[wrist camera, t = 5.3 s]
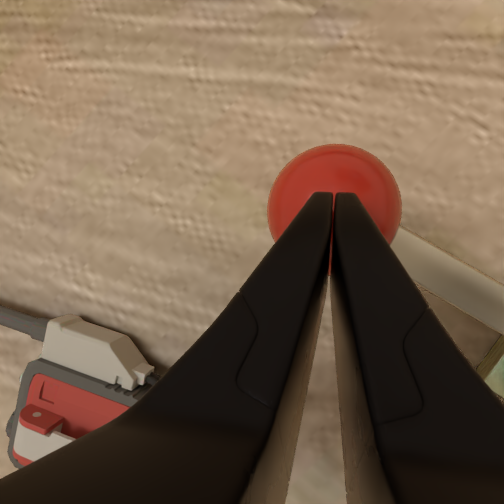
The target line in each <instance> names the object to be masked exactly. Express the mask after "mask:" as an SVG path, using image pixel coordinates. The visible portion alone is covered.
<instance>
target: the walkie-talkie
mask: <svg viewBox="0 0 504 504" xmlns="http://www.w3.org/2000/svg"><path fill="white" fill-rule="evenodd" d="M0 324H1V325H3V326H6V327H9V328H12V329H14V330H17V331H20V332H23V333H25V334H28V335H30V336H31V338H33V339H36V340H39V341H42V342H44V344H43V349H42V353H41V354H40V356H39V357H38V359H36V360H34V361H32V362H29V363H28V365H27V367H26V369H25V371H24V372H23V373H22V375H21V377H20V380H19V381H20V383H21V384H20V389H19V394H18V399H17V405H16V410H15V411H14V412H13V414H12V415H11V417H10V419H9V421H8V423H7V427H6V432H7V436H8V437H9V438H10V441H9V446H8V451H7V452H8V455H9V458H10V460H11V462H12V463H13V464H14V466H15V467H17V468H19V469H21V468H23V467H24V466H26V465H28V464H30V463H32V462H34V461H36V460H38V459H40V458H42V457H44V456H45V455H47V454H49V453H51V452H53V451H55V450H57V449H59V448H61V447H63V446H65V445H67V444H68V443H70V442H72V441H74V440H76V439H78V438H80V437H82V436H84V435H86V434H88V433H89V432H91V431H93V430H95V429H97V428H99V427H101V426H103V425H105V424H106V423H108V422H110V421H112V420H113V419H115V418H116V417H118V416H119V415H121V414H122V413H123V412H125V411H126V410H127V409H129V408H130V407H131V406H132V405H134V404H135V403H136V402H137V401H138V400H139V399H140V398H141V397H142V396H143V395H144V394H145V393H146V392H147V391H148V390H149V389H150V388H151V387H152V386H153V385H154V384H155V383H156V382H157V381H158V380H159V379H160V378H161V377H160V376H158V375H157V374H155V373H154V368H155V367H153V366H150V365H149V364H148V363H147V361H146V360H145V358H144V357H143V356H142V354H141V353H140V351H139V350H138V349H137V347H136V346H135V344H134V343H133V342H132V340H131V339H130V338H129V337H128V336H127V335H124V334H121V333H118V332H115V331H112V330H109V329H106V328H103V327H100V326H97V325H95V324H92V323H89V322H86V321H83V319H82V318H81V317H79V316H76V315H73V314H67V315H64V316H61V317H58V318H54V319H51V320H50V319H48V318H44V317H41V318H37V317H34V316H31V315H28V314H25V313H22V312H19V311H17V310H14V309H11V308H8V307H5V306H2V305H0Z"/></svg>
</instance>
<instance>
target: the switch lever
mask: <svg viewBox="0 0 504 504" xmlns="http://www.w3.org/2000/svg"><path fill="white" fill-rule="evenodd" d="M314 192H332V193H333V209H332V228H331V243H330V258H329V273H328V276H330V274H331V256H332V238H333V221H334V207H335V195H336V193H338V192H353V193H355V194H356V195H357V196H358V198H359V199H360V201H361V202H362V204H363V205H364V207H365V208H366V210H367V211H368V213H369V215H370V216H371V218H372V219H373V221H374V222H375V224H376V225H377V227H378V228H379V230H380V231H381V233H382V234H383V236H384V237H385V239H386V240H387V242H388V243H389V245H390V246H391V248H392V250H393V251H394V253H395V254H396V256H397V257H398V259H399V260H400V262H401V263H402V265H403V266H404V268H405V269H406V271H407V272H408V274H409V275H410V277H411V278H412V280H413V282H414V283H415V284H417V285H419V286H420V287H422V288H424V289H425V290H427V291H429V292H430V293H432V294H434V295H436V296H437V297H439V298H441V299H442V300H444V301H446V302H447V303H449V304H451V305H453V306H454V307H456V308H458V309H459V310H461V311H463V312H464V313H466V314H468V315H470V316H471V317H473V318H475V319H476V320H478V321H480V322H481V323H483V324H485V325H487V326H488V327H490V328H492V329H493V330H495V331H497V332H498V333H500V334H502V335H504V285H503V284H501V283H500V282H498V281H496V280H494V279H493V278H491V277H489V276H487V275H486V274H484V273H482V272H481V271H479V270H477V269H475V268H474V267H472V266H470V265H468V264H467V263H465V262H463V261H461V260H460V259H458V258H456V257H454V256H453V255H451V254H449V253H448V252H446V251H444V250H442V249H441V248H439V247H437V246H435V245H434V244H432V243H430V242H428V241H427V240H425V239H423V238H422V237H420V236H418V235H416V234H415V233H413V232H411V231H409V230H408V229H406V228H404V227H402V226H401V225H400V222H401V215H402V201H401V195H400V191H399V188H398V185H397V183H396V181H395V178H394V177H393V175H392V173H391V172H390V170H389V169H388V168H387V167H386V166H385V165H384V163H383V162H381V161H380V160H379V159H378V158H377V157H375V156H374V155H372V154H371V153H369V152H367V151H365V150H363V149H361V148H358V147H355V146H350V145H345V144H328V145H322V146H317V147H314V148H311V149H309V150H307V151H305V152H303V153H301V154H299V155H298V156H296V157H295V158H293V159H292V160H291V161H290V162H289V163H288V164H287V165H286V166H285V167H284V168H283V169H282V170H281V172H280V173H279V175H278V176H277V178H276V180H275V182H274V184H273V186H272V188H271V191H270V194H269V199H268V206H267V218H268V224H269V229H270V232H271V235H272V237H273V239H274V241H275V242H276V241H277V240H278V239H279V237H280V236H281V235H282V233H283V232H284V231H285V229H286V228H287V227H288V225H289V224H290V223H291V221H292V220H293V219H294V218H295V216H296V215H297V214H298V212H299V211H300V210H301V208H302V207H303V206H304V204H305V203H306V202H307V200H308V199H309V198H310V197H311V195H312V194H313V193H314Z"/></svg>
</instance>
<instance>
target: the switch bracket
mask: <svg viewBox="0 0 504 504" xmlns="http://www.w3.org/2000/svg"><path fill="white" fill-rule="evenodd" d="M476 371H477V372H478V374H479V375H480V376H481V377H482V379H483V380H484V381H485V382H486V383H487V385H488V386H489V387H490V388H491V389H492V391H493V392H494V393H495V394H497V395H498V396H500V397H502V398H503V399H504V335H501V337H500V338H499V339H498V341H497V342H496V343H495V345H494V346H493V347H492V349H491V350H490V352H489V353H488V354H487V356H486V357H485V358H484V360H483V361H482V362H481V364H480V365H479V367H478V368H477V369H476Z"/></svg>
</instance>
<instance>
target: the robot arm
mask: <svg viewBox="0 0 504 504" xmlns="http://www.w3.org/2000/svg"><path fill="white" fill-rule="evenodd" d="M332 209H333V193H332V192H314V193H313V194H312V195H311V197H310V198H309V199H308V200H307V202H306V203H305V204H304V206H303V207H302V208H301V210H300V211H299V212H298V214H297V215H296V216H295V218H294V219H293V220H292V221H291V223H290V224H289V225H288V227H287V228H286V229H285V231H284V232H283V233H282V235H281V236H280V237H279V239H278V240H277V241H276V242H275V244H274V245H273V246H272V248H271V249H270V250H269V252H268V253H267V254H266V256H265V257H264V258H263V260H262V261H261V262H260V263H259V265H258V266H257V267H256V269H255V270H254V271H253V273H252V274H251V275H250V277H249V278H248V279H247V281H246V282H245V283H244V284H243V286H242V287H241V288H240V290H239V292H238V293H236V295H235V296H234V297H233V299H232V300H231V301H230V303H229V304H228V305H227V307H226V308H225V309H224V310H223V311H222V313H221V314H220V315H219V316H218V318H217V319H216V320H215V321H214V322H213V324H212V325H211V326H210V327H209V328H208V329H207V330H206V331H205V332H204V333H203V335H202V336H201V337H200V338H199V339H198V340H197V341H196V342H195V343H194V344H193V345H192V346H191V347H190V348H189V349H188V350H187V351H186V352H185V354H184V355H183V356H182V357H181V358H180V359H179V360H178V361H177V362H176V363H175V364H174V365H173V366H172V367H171V368H170V369H169V370H168V371H167V372H166V373H165V374H164V375H163V376H162V377H161V378H160V379H159V380H158V381H157V382H156V383H155V384H154V385H153V386H152V387H151V388H150V389H149V390H148V391H147V392H146V393H145V394H144V395H143V396H142V397H141V398H140V399H139V400H138V401H137V402H136V403H135V404H134V405H132V406H131V407H130V408H129V409H127V410H126V411H125V412H123V413H122V414H121V415H119V416H118V417H116V418H115V419H113V420H112V421H110V422H108V423H106V424H105V425H103V426H101V427H99V428H97V429H95V430H93V431H91V432H89V433H88V434H86V435H84V436H82V437H80V438H78V439H76V440H74V441H72V442H70V443H68V444H67V445H65V446H63V447H61V448H59V449H57V450H55V451H53V452H51V453H49V454H47V455H45V456H44V457H42V458H40V459H38V460H36V461H34V462H32V463H30V464H28V465H26V466H24V467H23V468H21V469H19V470H17V471H15V472H13V473H11V474H9V475H7V476H5V477H3V478H2V479H0V504H285V501H286V496H287V491H288V486H289V483H288V482H289V480H290V475H291V470H292V465H293V460H294V455H295V450H296V445H297V440H298V435H299V430H300V425H301V420H302V414H303V409H304V404H305V399H306V394H307V389H308V384H309V379H310V374H311V369H312V364H313V359H314V354H315V349H316V344H317V339H318V333H319V328H320V323H321V318H322V313H323V308H324V303H325V298H326V292H327V285H328V273H329V258H330V243H331V228H332ZM330 297H331V309H332V322H333V334H334V347H335V359H336V372H337V385H338V397H339V410H340V422H341V435H342V447H343V460H344V472H345V485H346V492H347V494H346V498H347V504H504V404H503V403H502V402H501V400H500V399H499V398H498V397H497V395H496V394H495V393H494V392H493V391H492V389H491V388H490V387H489V386H488V385H487V383H486V382H485V381H484V380H483V379H482V377H481V376H480V375H479V374H478V372H477V371H476V370H475V369H474V367H473V366H472V365H471V364H470V362H469V361H468V360H467V359H466V357H465V356H464V355H463V353H462V352H461V351H460V350H459V348H458V347H457V345H456V344H455V343H454V341H453V340H452V338H451V337H450V335H449V334H448V333H447V331H446V330H445V328H444V327H443V325H442V324H441V322H440V321H439V319H438V318H437V316H436V315H435V313H434V312H433V310H432V309H431V308H429V304H428V303H427V301H426V300H425V298H424V297H423V295H422V294H421V292H420V291H419V289H418V288H417V286H416V285H415V283H414V282H413V280H412V278H411V277H410V275H409V274H408V272H407V271H406V269H405V268H404V266H403V265H402V263H401V262H400V260H399V259H398V257H397V256H396V254H395V253H394V251H393V250H392V248H391V246H390V245H389V243H388V242H387V240H386V239H385V237H384V236H383V234H382V233H381V231H380V230H379V228H378V227H377V225H376V224H375V222H374V221H373V219H372V218H371V216H370V215H369V213H368V211H367V210H366V208H365V207H364V205H363V204H362V202H361V201H360V199H359V198H358V196H357V195H356V194H355V193H353V192H338V193H336V195H335V207H334V221H333V238H332V256H331V274H330Z"/></svg>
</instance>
